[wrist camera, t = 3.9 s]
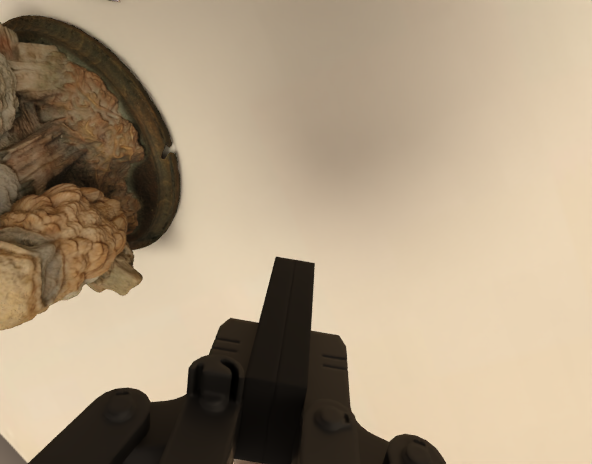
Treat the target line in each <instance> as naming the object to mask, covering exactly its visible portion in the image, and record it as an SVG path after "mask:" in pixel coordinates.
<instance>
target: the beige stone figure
mask: <svg viewBox="0 0 592 464" xmlns="http://www.w3.org/2000/svg"><path fill="white" fill-rule="evenodd" d="M166 145H167V146H168V147H170V146H171V145H172V142H171V139H170V135H169V132H168V130H167V128H166V125H165V123H164V121H163V120H162V117H161V115H160V113H159V111H158V110H157V108H156V107H155V105H154V104H153V101H152V100H151V99H150V98H149V96H148V94H147V93H146V91H145V89H144V88H143V87H142V85H141V83H140V82H139V81H138V79H137V78H136V77H135V76H134V75H133V74H132V73H131V72H130V70H129V69H128V68H127V67H126V66H125V65H124V64H123V62H121V61H120V60H119V58H117V56H116V55H115V54H114V53H112V51H111V50H109V49H108V48H106V47H105V46H104V45H103V44H102V43H100V42H98V40H95V38H92V37H91V36H89V35H87V34H86V33H85V32H83V31H82V30H80V29H78V28H76V27H75V26H73V25H69V24H67V23H63V22H61V21H57V20H54V19H52V18H48V17H43V16H30V15H28V16H21V17H17V18H13V19H11V20H9V21H7V22H5V23H3V24H1V22H0V330H5V329H9V328H13V327H15V326H18V325H21V324H22V323H24V322H27V321H30V320H32V319H33V318H35V316H36V315H37V314H40V313H42V312H45V311H46V310H47V309H48V308H49V306H50V305H52V304H54V303H56V302H58V301H61V300H68V299H70V298H73V297H74V296H77V295H78V294H79V293H80V291H81V290H82V287H83V285H85V284H87V285H88V286H89V287H90V288H92V289H93V290H94V291H96V292H102V291H103V290H105V289H110V290H113V291H115V292H117V293H119V294H120V295H122V296H124V295H126V294H127V293H128V292H129V290H131V289H132V288H134V287H135V286H136V285H138V284H139V283H140V282H141V281H142V278H143V277H142V275H141V274H140V273H139V272H137V271H136V270H135V269H134V268H133V261H134V255H133V251H132V250H135V249H140V248H143V247H146V246H149V245H151V244H152V243H154V242H155V241H157V240H158V239H159V238H160V237H161V236H162V235H163V234H164V233H165V232H166V230H167V229H168V227H169V226H170V224H171V222H172V220H173V218H174V216H175V213H176V212H177V207H178V203H179V199H180V174H179V171H178V161H177V157H176V153H175V154H174V153H171V152H170V153H168V155H167V156H166V158H165V159H162V158H161V155H162V153H163V150H164V148H165V146H166Z"/></svg>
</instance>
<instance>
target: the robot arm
mask: <svg viewBox="0 0 592 464" xmlns="http://www.w3.org/2000/svg"><path fill="white" fill-rule="evenodd" d="M314 267H315V263H310V262H304V261H298V260H293V259H287V258H281V257H276V258H275V262H274V266H273V270H272V274H271V278H270V282H269V285H268V289H267V293H266V297H265V301H264V305H263V309H262V313H261V316H260V320H259V323H256V322H251V321H245V320H239V319H233V318H230V319H228V320H227V321H226V322H225V323H224V324H222V325H221V326H220V328H219V330H218V333H217V335H216V338H215V340H214V343H213V345H212V349H211V350H210V353H209V355H207V356H203V357H201V358H199V359H197V360H196V361H194V362H193V363H192V365H191V366H190V367H189V371H188V385H187V394H186V395H184V396H182V397H180V398H177V399H174V400H168V401H160V402H150V400H149V399H148V397H147V395H146V394H144V393H143V392H141V391H140V390H137V389H132V388H119V389H114V390H111V391H109V392H106V393H104V394H103V395H101V396H100V397H98V398H97V399H96V400H94V401H93V402H92V403H91V404H90V405H89V406H88V407H87V408H86V409H85V410H84V411H83V412H82V413H81V414H80V415H79V416H78V417H76V418H75V419H74V420H73V421H72V422H71V423H70V424H69V425H68V426H67V427H66V428H65V429H64V430H63V431H62V432H61V433H60V434H59V435H57V436H56V437H55V438H54V439H53V440H52V441H51V442H50V443H49V444H48V445H47V446H46V447H45V448H44V449H43V450H42V451H41V452H39V453H38V454H37V455H36V456H35V457H34V458H33V459H32V460H31V461H30V462H29V463H28V464H233V460H234V459H240V460H246V461H252V462H258V463H264V464H446V462H445V460H444V459H443V457H442V456H441V454H440V453H439V452H438V450H437V449H436V448H435V447H434V446H433V445H431V444H430V443H429V442H428V441H426V440H424V439H422V438H420V437H418V436H415V435H409V434H403V435H398V436H395V437H394V438H393V439H392V440H391V441H390V442H388V441H386V440H384V439H382V438H379V437H377V436H375V435H373V434H371V433H370V432H368V431H366V430H365V429H364V428H363V427H361V426H360V425H359V423H358V422H357V421H356V419H355V416H354V414H353V413H352V412H351V408H350V396H349V381H348V371H347V369H348V367H347V352H346V346H345V344H344V343H343V341H342V339H341V338H340V336H339V335H333V334H327V333H321V332H316V331H311V319H312V301H313V284H314Z"/></svg>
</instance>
